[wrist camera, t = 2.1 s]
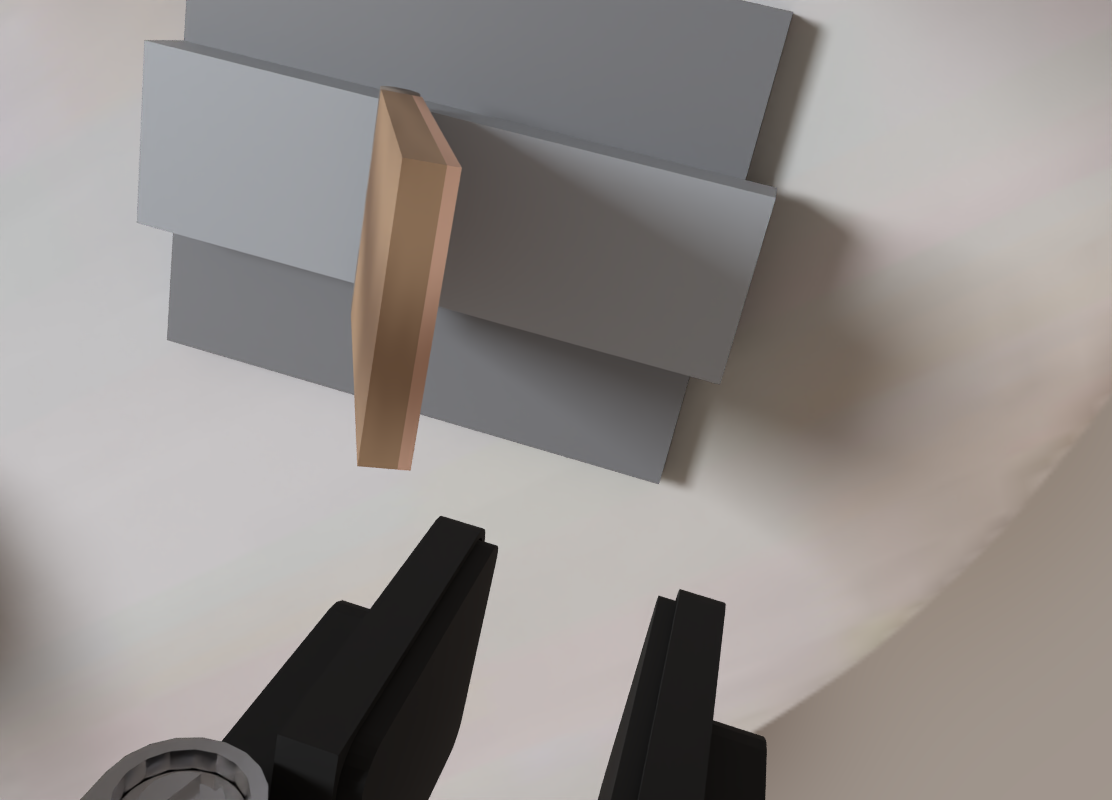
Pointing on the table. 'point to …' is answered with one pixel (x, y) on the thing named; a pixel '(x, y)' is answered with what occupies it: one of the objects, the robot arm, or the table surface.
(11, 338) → the table surface
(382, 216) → the flap
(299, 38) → the grey ridged base plate
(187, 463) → the table surface
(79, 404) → the table surface
